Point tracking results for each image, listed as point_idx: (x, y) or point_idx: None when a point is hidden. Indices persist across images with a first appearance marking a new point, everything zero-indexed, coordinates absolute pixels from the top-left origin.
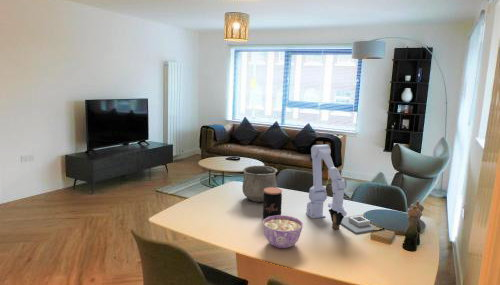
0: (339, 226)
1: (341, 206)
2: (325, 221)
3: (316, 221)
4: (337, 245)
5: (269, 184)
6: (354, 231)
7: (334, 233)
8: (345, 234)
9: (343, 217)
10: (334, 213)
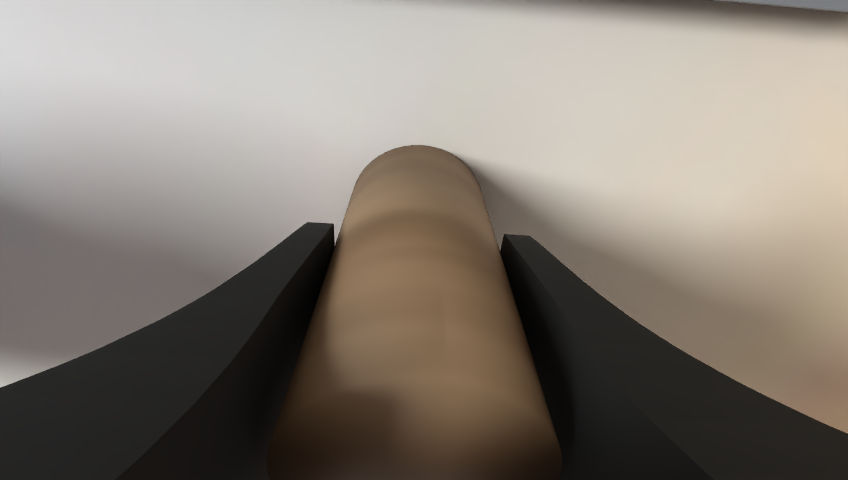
0: (471, 185)
1: None
2: (74, 188)
3: (80, 316)
4: None
5: None
6: (840, 10)
7: None
8: (691, 215)
9: (726, 381)
10: (254, 469)
